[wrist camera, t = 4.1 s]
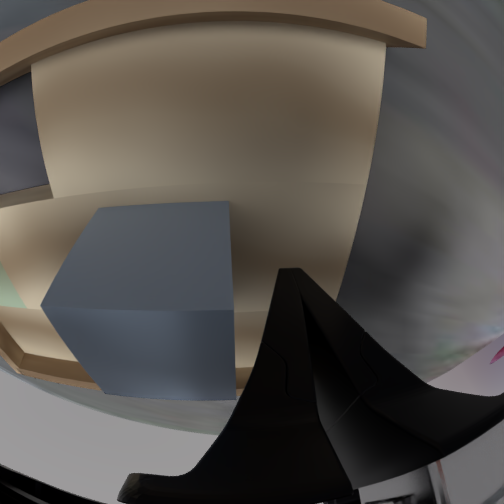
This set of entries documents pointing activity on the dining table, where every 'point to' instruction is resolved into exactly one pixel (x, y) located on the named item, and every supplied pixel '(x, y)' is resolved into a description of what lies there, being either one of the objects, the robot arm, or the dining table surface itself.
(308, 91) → the tray
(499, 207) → the dining table surface
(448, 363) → the dining table surface
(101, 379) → the slate block
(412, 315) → the dining table surface
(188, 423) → the dining table surface
